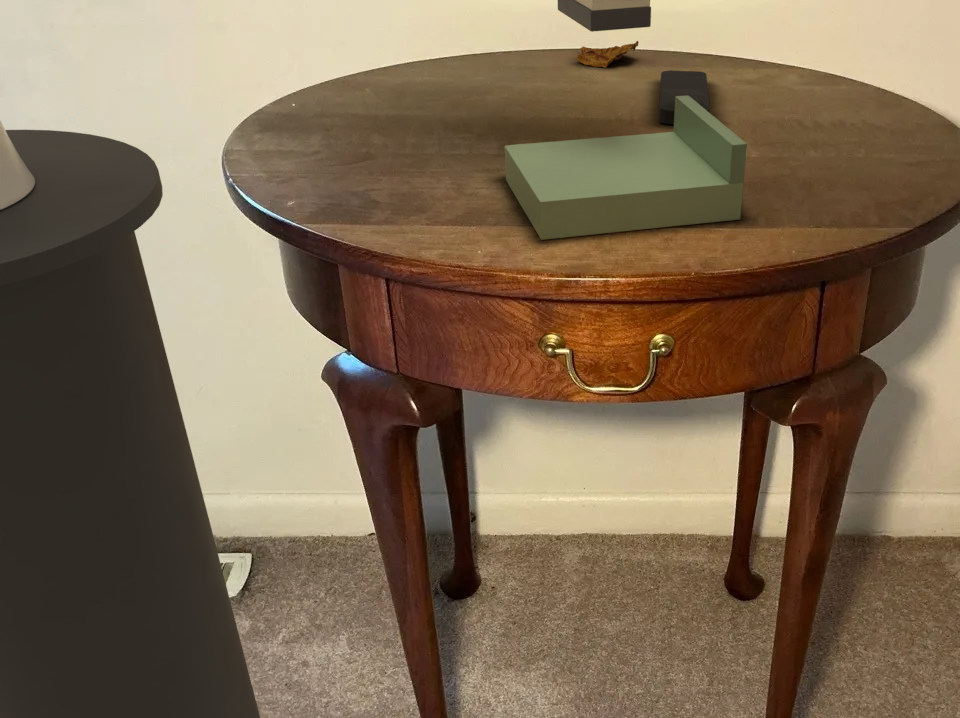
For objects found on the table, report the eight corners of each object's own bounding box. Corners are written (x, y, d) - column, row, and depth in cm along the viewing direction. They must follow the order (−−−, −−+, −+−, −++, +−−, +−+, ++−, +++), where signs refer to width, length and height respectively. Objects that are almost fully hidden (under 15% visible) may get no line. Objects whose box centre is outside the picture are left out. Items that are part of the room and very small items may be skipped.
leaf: (592, 51, 125) (590, 37, 124) (645, 51, 122) (644, 36, 121) (569, 70, 120) (567, 55, 119) (624, 70, 118) (622, 55, 117)
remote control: (660, 86, 114) (658, 123, 101) (660, 69, 113) (659, 105, 101) (705, 88, 114) (709, 125, 101) (706, 71, 113) (711, 106, 100)
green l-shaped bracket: (540, 240, 78) (539, 161, 75) (505, 180, 89) (502, 108, 85) (740, 219, 82) (747, 143, 79) (684, 164, 92) (688, 95, 89)
